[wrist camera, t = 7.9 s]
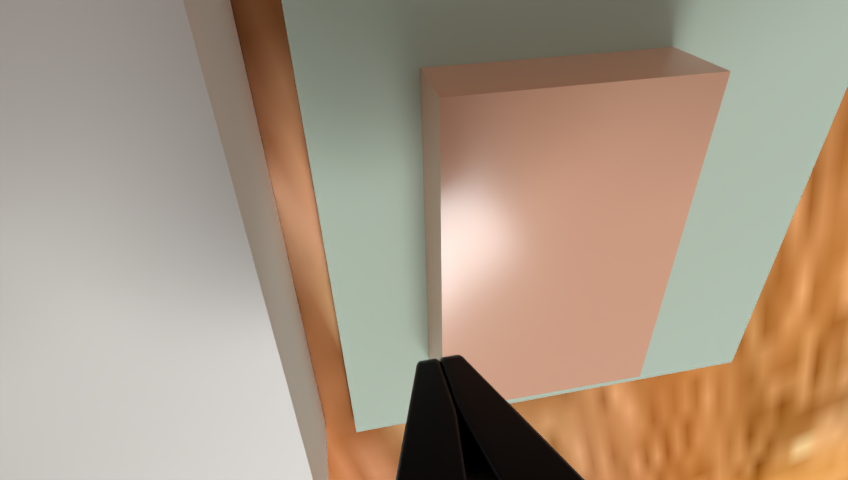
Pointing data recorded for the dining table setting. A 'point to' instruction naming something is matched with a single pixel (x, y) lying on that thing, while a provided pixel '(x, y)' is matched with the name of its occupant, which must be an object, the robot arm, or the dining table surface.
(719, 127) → the mat
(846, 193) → the dining table surface
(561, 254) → the tile
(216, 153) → the board
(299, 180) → the dining table surface
